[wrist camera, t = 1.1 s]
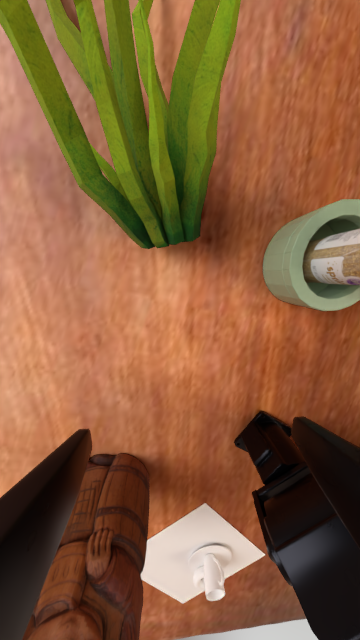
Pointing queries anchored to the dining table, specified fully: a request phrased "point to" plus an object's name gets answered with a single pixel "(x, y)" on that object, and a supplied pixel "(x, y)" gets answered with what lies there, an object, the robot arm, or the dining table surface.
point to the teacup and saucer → (197, 556)
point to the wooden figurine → (98, 558)
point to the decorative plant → (134, 109)
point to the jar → (289, 252)
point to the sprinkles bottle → (333, 259)
